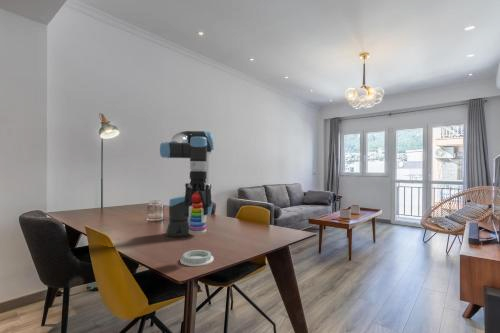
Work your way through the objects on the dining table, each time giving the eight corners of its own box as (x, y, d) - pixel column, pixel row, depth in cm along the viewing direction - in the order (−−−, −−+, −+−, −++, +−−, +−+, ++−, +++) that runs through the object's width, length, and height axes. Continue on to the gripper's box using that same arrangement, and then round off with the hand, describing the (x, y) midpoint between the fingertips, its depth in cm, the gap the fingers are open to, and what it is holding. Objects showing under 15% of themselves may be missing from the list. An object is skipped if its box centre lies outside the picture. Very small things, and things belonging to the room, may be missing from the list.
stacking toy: (189, 231, 124) (190, 191, 124) (207, 231, 125) (207, 191, 125) (187, 235, 116) (187, 192, 116) (205, 235, 117) (206, 193, 117)
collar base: (172, 261, 118) (172, 256, 118) (195, 252, 131) (195, 247, 131) (198, 268, 110) (198, 262, 110) (220, 258, 123) (220, 252, 123)
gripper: (176, 170, 122) (175, 220, 122) (210, 171, 112) (209, 225, 112) (187, 170, 129) (187, 217, 129) (220, 171, 119) (220, 222, 119)
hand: (197, 221), depth 120 cm, fingers closed on stacking toy, 7 cm apart
